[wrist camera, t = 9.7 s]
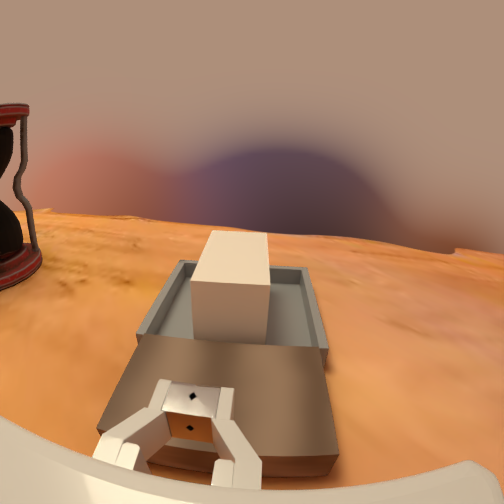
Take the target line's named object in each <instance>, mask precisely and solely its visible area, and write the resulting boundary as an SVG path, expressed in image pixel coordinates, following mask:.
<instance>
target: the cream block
mask: <svg viewBox="0 0 504 504" xmlns="http://www.w3.org/2000/svg"><path fill="white" fill-rule="evenodd" d="M190 287H191V305H192V321H193V336H194V339H196V340H206V341H217V342H228V343H242V344H258V345H265V340H266V330H267V319H268V308H269V297H270V271H269V257H268V244H267V233H255V232H235V231H215V230H212V232H211V235H210V237H209V239H208V241H207V243H206V246H205V248H204V250H203V252H202V255H201V257H200V259H199V261H198V264H197V266H196V268H195V271H194V273H193V275H192V278H191V280H190Z"/></svg>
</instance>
